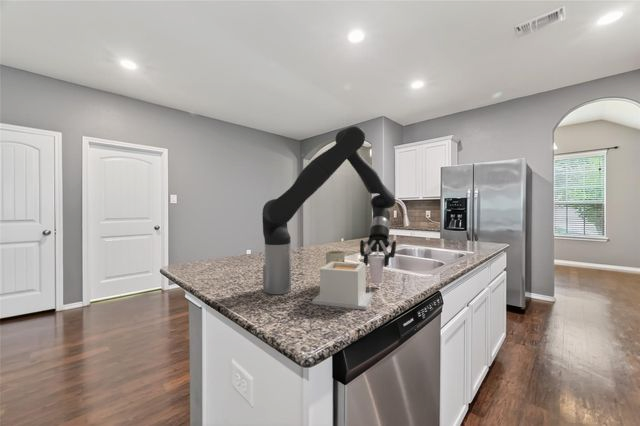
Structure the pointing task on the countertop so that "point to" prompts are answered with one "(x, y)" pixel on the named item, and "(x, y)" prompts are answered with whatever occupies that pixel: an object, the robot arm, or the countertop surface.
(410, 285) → the countertop surface
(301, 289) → the countertop surface
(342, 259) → the character mug
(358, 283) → the white open box
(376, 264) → the smoothie
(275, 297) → the countertop surface
